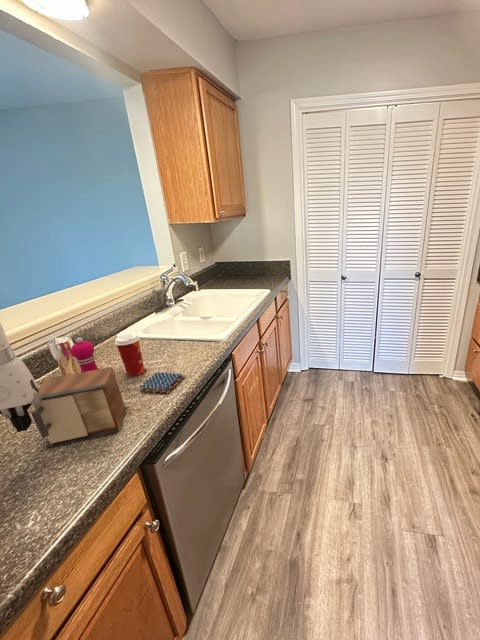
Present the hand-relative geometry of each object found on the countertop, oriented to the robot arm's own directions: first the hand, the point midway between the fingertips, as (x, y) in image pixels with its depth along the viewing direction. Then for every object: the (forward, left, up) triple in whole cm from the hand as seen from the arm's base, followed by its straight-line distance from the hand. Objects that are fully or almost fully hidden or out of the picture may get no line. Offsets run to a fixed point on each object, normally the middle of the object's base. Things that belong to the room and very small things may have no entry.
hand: (25, 427), depth 76 cm
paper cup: (+17, +38, -9) cm, 42 cm away
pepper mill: (+7, +27, -9) cm, 29 cm away
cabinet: (+9, +10, -9) cm, 16 cm away
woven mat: (+27, +25, -9) cm, 38 cm away
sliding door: (+6, +2, -8) cm, 10 cm away
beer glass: (-4, +42, -9) cm, 43 cm away
